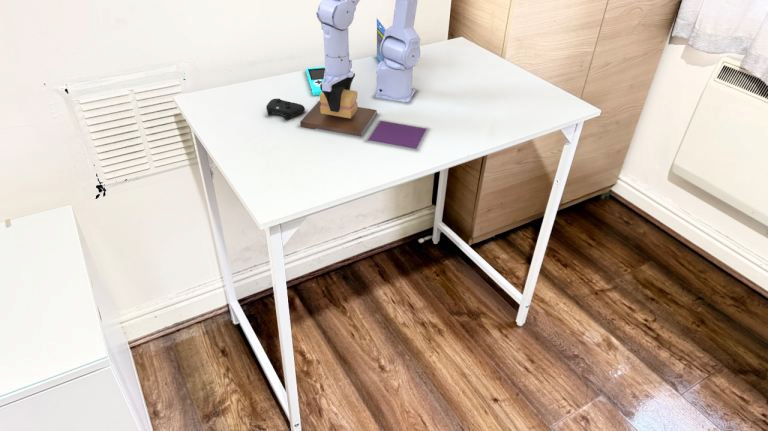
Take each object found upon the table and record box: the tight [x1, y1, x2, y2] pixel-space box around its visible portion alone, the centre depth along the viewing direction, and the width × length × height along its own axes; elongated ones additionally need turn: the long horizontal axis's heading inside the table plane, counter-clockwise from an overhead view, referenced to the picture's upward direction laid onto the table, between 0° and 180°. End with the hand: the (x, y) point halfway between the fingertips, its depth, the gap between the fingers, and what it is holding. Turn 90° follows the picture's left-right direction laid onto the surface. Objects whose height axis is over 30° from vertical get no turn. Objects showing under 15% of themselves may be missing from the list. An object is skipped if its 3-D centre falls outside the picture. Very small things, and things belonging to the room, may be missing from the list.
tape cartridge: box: [376, 18, 387, 62], centre depth 158 cm, size 9×4×12 cm, turn 17°
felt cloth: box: [367, 120, 427, 150], centre depth 128 cm, size 12×10×1 cm
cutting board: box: [300, 99, 378, 138], centre depth 132 cm, size 16×12×2 cm
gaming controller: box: [265, 98, 306, 121], centre depth 135 cm, size 10×5×6 cm
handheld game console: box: [305, 66, 325, 96], centre depth 150 cm, size 10×16×1 cm, turn 14°
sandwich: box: [319, 89, 358, 118], centre depth 130 cm, size 8×5×5 cm, turn 72°
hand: (338, 106), depth 130 cm, fingers closed on sandwich, 5 cm apart
